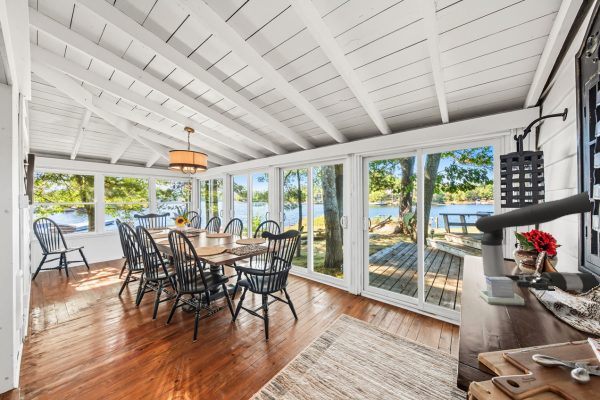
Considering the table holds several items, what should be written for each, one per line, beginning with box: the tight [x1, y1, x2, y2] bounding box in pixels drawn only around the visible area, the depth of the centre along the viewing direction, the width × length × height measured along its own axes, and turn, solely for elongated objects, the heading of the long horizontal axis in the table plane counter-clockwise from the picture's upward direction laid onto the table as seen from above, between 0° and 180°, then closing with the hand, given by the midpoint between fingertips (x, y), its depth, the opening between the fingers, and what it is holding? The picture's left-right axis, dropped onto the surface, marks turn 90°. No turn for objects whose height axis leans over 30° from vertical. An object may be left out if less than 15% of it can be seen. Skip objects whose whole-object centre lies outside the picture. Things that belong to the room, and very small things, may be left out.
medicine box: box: [485, 276, 515, 298], centre depth 98 cm, size 8×4×9 cm, turn 74°
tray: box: [478, 290, 525, 306], centre depth 99 cm, size 8×12×2 cm
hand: (511, 281), depth 98 cm, fingers open, 8 cm apart
